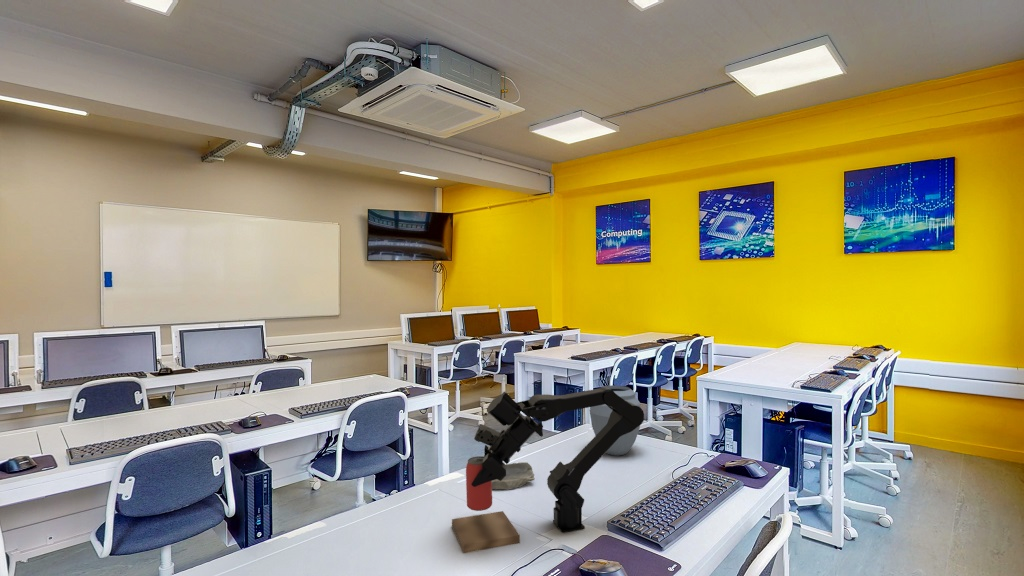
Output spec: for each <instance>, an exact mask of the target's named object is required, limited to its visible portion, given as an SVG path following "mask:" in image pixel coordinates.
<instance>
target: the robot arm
mask: <svg viewBox="0 0 1024 576" xmlns="http://www.w3.org/2000/svg"><path fill="white" fill-rule="evenodd" d="M604 404H606V405H607V406H608V407H609V408H610V409H612V410H613V411H612V412H611V414H610V417H609V420H608V423H607V424H606V425H605V426H604V428H603V429H602V430H601V431H600V432H599V433H598V434H597V435H596V436H595V435H594V436H593V438H592V439H591V440H590V441H589V442H588V443H587V444H586V446H584V448H583V449H581V451H579V453H578V454H577V455H576V456H575V457H574V458H573V459H572V460H571V461H570V462H567V463H565V464H564V463H563V462H562V461H558V463H557V464H556V466H555V467H554V468H553V469H552V470H549V473H550V474H549V475H548V477H547V479H546V481H547V483H546V485H547V488H548V489H549V491H550V492H551V494H552V495H553V496H554V498H556V499H557V500H555V501H554V507H553V519H552V523H553V524H554V525H555V526H556V527H557V528H558V529H559V531H560V532H561V533H568V532H573V531H579V530H584V529H585V528H586V527H585V525H584V524H583V516H582V515H583V514H582V512H583V510H582V508H583V507H584V503H585V499H584V497H583V496H582V495H581V494H580V493H579V492H578V491H579V490H580V487H581V485H582V482H583V479H584V476H585V475H586V474H587V473H588V472H589V471H590V469H592V468H593V466H595V464H596V463H597V462H598V461H600V459H601V458H602V457H603V456H604V455H605V454H607V453H606V452H607V450H608V449H609V448H610V447H611V446H612V445H613V444H614V443H615V442H616V441H617V440H618V439H619V438H620V437H621V436H623V435H625V434H627V433H630V432H632V431H633V430H635V429H636V428H637V427H639V426H640V427H641V425H642V424H643V422H644V421H645V413H644V410H643V409H642V407H641V408H640V407H639V406H637V405H635V404H633V403H631V402H628V401H625V400H624V399H622V398H621V397H619V396H618V395H617V394H616V393H615V392H614V391H613V390H611V389H609V388H606V387H603V386H601V387H599V388H595V389H589V390H584V391H578V392H573V393H567V394H562V395H559V394H558V395H555V394H534V395H532V396H530V398H529V399H526V400H523V401H522V400H521V401H519V402H517V401H516V400H514V399H513V398H512V397H511V396H510V395H509V394H508V393H507V392H506V391H503V392H502V393H501V394H499V395H498V396H496V397H495V398H493V399H492V400H491V401H490V402H489V404H488V406H487V408H486V412H487V414H488V415H490V416H491V417H492V418H494V419H495V420H496V421H497V422H498V423H499V424H500V425H501V426H504V427H505V426H506V425H507V426H508V427H507V428H504V429H501V431H500V432H499V431H497V430H496V429H494V428H491V427H490V426H487V425H485V424H482V423H481V424H480V423H479V425H478V428H477V429H476V433H475V435H474V438H473V439H474V440H475V441H476V442H478V443H482V444H485V445H484V449H483V451H484V455H483V456H484V457H485V458H484V459H483V458H482V468H481V470H480V471H479V473H478V474H477V476H476V477H475V479H474V480H473V482H472V483H471V485H472V486H473V487H476V486H479V485H481V484H484V483H486V482H489V481H492V480H495V479H498V480H500V481H501V480H502V479H503V478H504V477H505V476H506V465H507V464H510V460H511V458H512V457H513V456H514V455H515V454H516V453H519V452H521V449H522V446H524V445H525V443H526V442H527V441H528V440H529V439H530V438H531V436H533V435H534V433H536V434H537V435H538V436H539V437H540V438H541V437H543V436H544V434H543V433H544V432H543V429H544V425H543V423H542V422H547V421H550V420H552V419H555V418H557V417H559V416H561V415H562V414H564V413H566V412H572V411H577V410H582V409H587V408H590V407H593V406H599V405H604ZM522 413H523V414H524V415H523V414H522ZM533 418H534V419H535V420H537V421H538V422H536V421H535V420H534V419H533Z"/></svg>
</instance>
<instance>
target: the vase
mask: <svg viewBox="0 0 1024 576" xmlns="http://www.w3.org/2000/svg"><path fill="white" fill-rule="evenodd" d="M602 387H606V388H609V389H611V390H613V391H614V392H615V393H616V394H617V395H618V396H619V397H621V398H622V399H624V400H625V401H628V402H631V403H633V404H635V405H637V406H639V407H640V408H641V409H642V407H641V402H640V401H639V399H638V398H637V397H636V392H635V391H634V390H632V389H631V387H628V386H624V385H604V386H602ZM612 411H613V410H612V409H610V408H609V407H608V406H607V405H606V404H604V405H599V406H593V407H589V416H590V422H591V427H592V430H593V433H594V437H595V436H596V435H597V434H598V433H599V432H600V431H601V430H602V429H603V428H604V426H605V425H606V424H607V423H608V420H609V417H610V414H611V412H612ZM640 428H641V425H640V426H639V427H637V428H636V429H635V430H633V431H632V432H630V433H627V434H625V435H623V436H621V437H620V438H619V439H618V440H617V441H616V442H615V443H614V444H613V445H612V446H611V447H610V448H609V449H608V450H607V452H606V453H605V454H608V455H610V454H612V455H611V456H616V455H619V456H624V455H626V454H628V452H629V451H631V449H632V447H633V446H634V444H635V442H636V440H637V437H638V434H639V431H640Z"/></svg>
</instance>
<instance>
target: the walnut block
mask: <svg viewBox="0 0 1024 576" xmlns="http://www.w3.org/2000/svg"><path fill="white" fill-rule="evenodd" d="M451 527H452V530H453V532H454V534H455V536H456V538H457V539H456V540H457V541H458V543H459V545H460V548H461V551H462V553H463V554H467V553H472V552H478V551H484V550H490V549H495V548H501V547H507V546H513V545H517V544H521V543H520V542H521V541H520V540H521V537H520V536H521V535H520V533H519V532H518V531H517V528H515V526H514V525H513V524H512V521H510V519H509V517H508V516H507V515H506V513H505V512H504V511H503V510H502V511H495V512H489V513H481V514H476V515H470V516H463V517H457V518H452V519H451Z"/></svg>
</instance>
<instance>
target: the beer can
mask: <svg viewBox="0 0 1024 576" xmlns="http://www.w3.org/2000/svg"><path fill="white" fill-rule="evenodd" d="M482 458H483V459H484V458H485V457H484V455H483V456H482V455H478V456H471V457H469V458H468V459H467V463H466V468H465V482H466V483H465V485H466V487H465V488H466V491H465V492H466V506H467V508H468V509H470V510H471V511H476V512H482V511H486V510H488V509H490V508H491V507H492V506H493V490H492V481H489V482H486V483H484V484H481V485H479V486H476V487H473V486H472V485H471V483H472V482H473V480H474V479H475V477H476V476H477V474H478V473H479V471H480V470H481V468H482Z"/></svg>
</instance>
